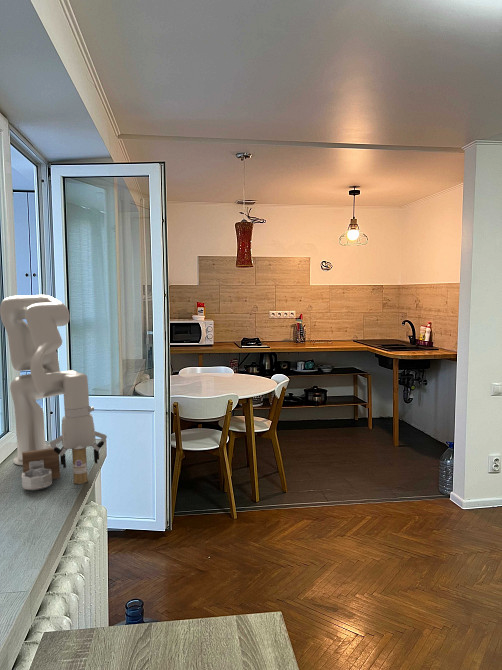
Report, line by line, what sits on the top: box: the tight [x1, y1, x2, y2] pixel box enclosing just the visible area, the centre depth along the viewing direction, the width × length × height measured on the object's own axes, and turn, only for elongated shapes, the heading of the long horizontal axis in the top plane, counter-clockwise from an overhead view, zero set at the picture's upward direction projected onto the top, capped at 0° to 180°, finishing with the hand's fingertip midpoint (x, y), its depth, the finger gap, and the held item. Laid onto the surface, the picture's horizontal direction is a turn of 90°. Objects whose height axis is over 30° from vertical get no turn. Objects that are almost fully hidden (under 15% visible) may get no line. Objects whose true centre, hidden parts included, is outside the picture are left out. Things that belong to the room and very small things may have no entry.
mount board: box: [22, 448, 61, 480], centre depth 174 cm, size 6×11×10 cm, turn 113°
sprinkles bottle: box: [71, 446, 89, 485], centre depth 170 cm, size 5×5×13 cm
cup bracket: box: [21, 460, 53, 491], centre depth 166 cm, size 11×9×6 cm
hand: (80, 464), depth 169 cm, fingers open, 9 cm apart
